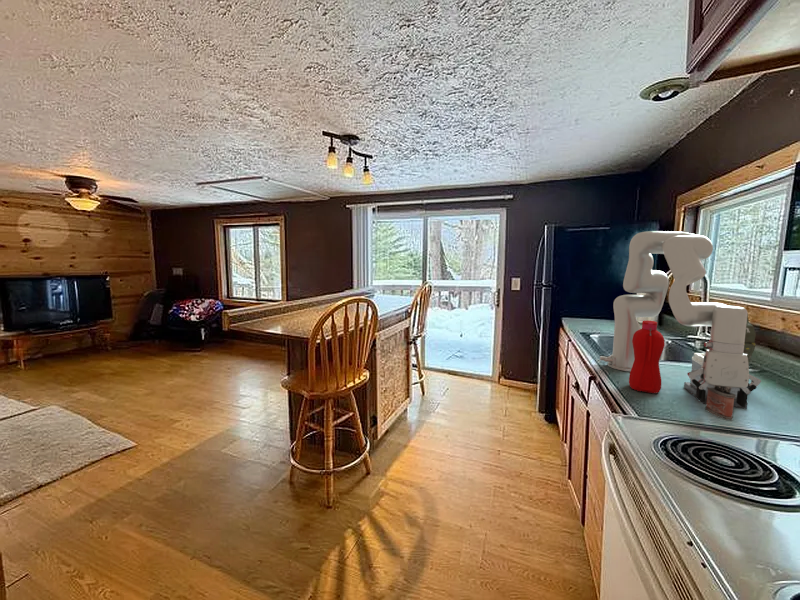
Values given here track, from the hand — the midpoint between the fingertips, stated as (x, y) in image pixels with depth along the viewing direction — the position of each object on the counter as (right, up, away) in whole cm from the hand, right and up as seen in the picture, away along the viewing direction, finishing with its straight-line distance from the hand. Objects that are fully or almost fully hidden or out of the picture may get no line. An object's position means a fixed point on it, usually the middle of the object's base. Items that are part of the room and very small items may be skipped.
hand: (720, 403), depth 108 cm
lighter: (0, -4, +1) cm, 4 cm away
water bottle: (-9, -1, +21) cm, 22 cm away
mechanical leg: (+30, -1, +28) cm, 41 cm away
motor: (+10, -2, +14) cm, 17 cm away
